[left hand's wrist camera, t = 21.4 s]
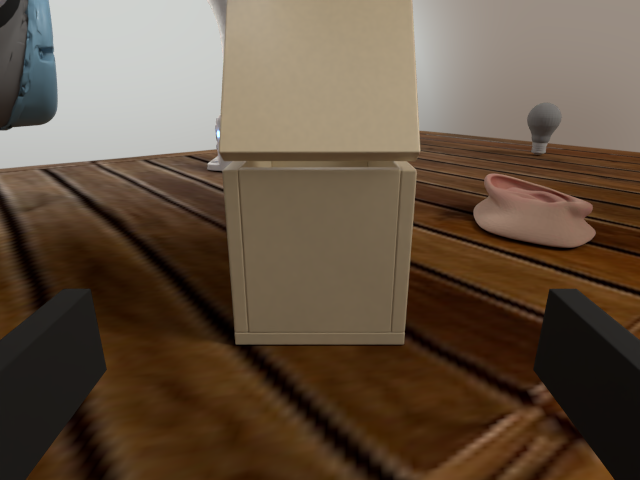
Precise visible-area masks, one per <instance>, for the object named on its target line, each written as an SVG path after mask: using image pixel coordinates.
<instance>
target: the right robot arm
mask: <svg viewBox="0 0 640 480" xmlns="http://www.w3.org/2000/svg"><path fill="white" fill-rule="evenodd" d="M207 1H208V3H209V4H210V6H211V8H212V10H213V12H214V15H215V17H216V20H217V23H218V27H219V31H220V37H221V44H222V52H223V61H224V43H225V24H226V5H227V0H207ZM220 118H221V115H219V117H218V118H217V119H216V126H215V130H216V139H217V151H218V156H217V157H216V158H215V159H213V160H212V161H210V162H209V163H208V170H216V171H223V170H224V169H225V168H226V167H227V166H228V165H229V164H230V163H231V162H232V161H223V159H222V157H221V155H220V154H219V137H220Z"/></svg>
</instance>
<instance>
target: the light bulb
mask: <svg viewBox="0 0 640 480" xmlns="http://www.w3.org/2000/svg"><path fill="white" fill-rule="evenodd" d="M527 121H528V126H529V129H530V131H531V134H532V141H533V144H532V145H533V146H532V147H533V148H532V149H533V150H532V151H531V152H533V153H534V154H537V155H541V154H543V153H546V151H545V148H546V146H547V143H548V141H549V140H550V137H551V135H552V133H553V132H554V131H555V130H556V128H557V127H558V126H559V124H560V122H561V112H560V110H559V109H558V107H557V106H555V105H554V104H551V103H542V104H539V105H537V106H535V107H534V108H533V109H532V110H531V111H530V113H529V115H528V119H527Z"/></svg>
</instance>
